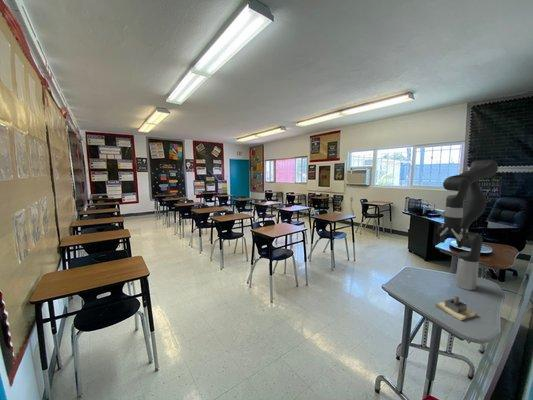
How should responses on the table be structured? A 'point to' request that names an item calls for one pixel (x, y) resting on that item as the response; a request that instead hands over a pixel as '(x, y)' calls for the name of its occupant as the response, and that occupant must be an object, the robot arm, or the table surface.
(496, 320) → the table surface
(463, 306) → the link
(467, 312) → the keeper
